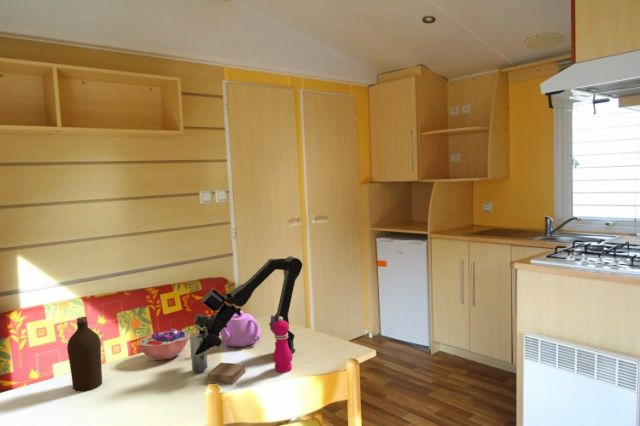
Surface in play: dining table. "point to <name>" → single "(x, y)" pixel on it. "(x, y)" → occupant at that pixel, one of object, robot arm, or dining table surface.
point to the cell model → (164, 344)
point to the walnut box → (226, 373)
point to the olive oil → (85, 357)
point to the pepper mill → (282, 347)
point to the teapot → (241, 330)
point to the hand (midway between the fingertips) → (194, 351)
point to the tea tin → (199, 360)
